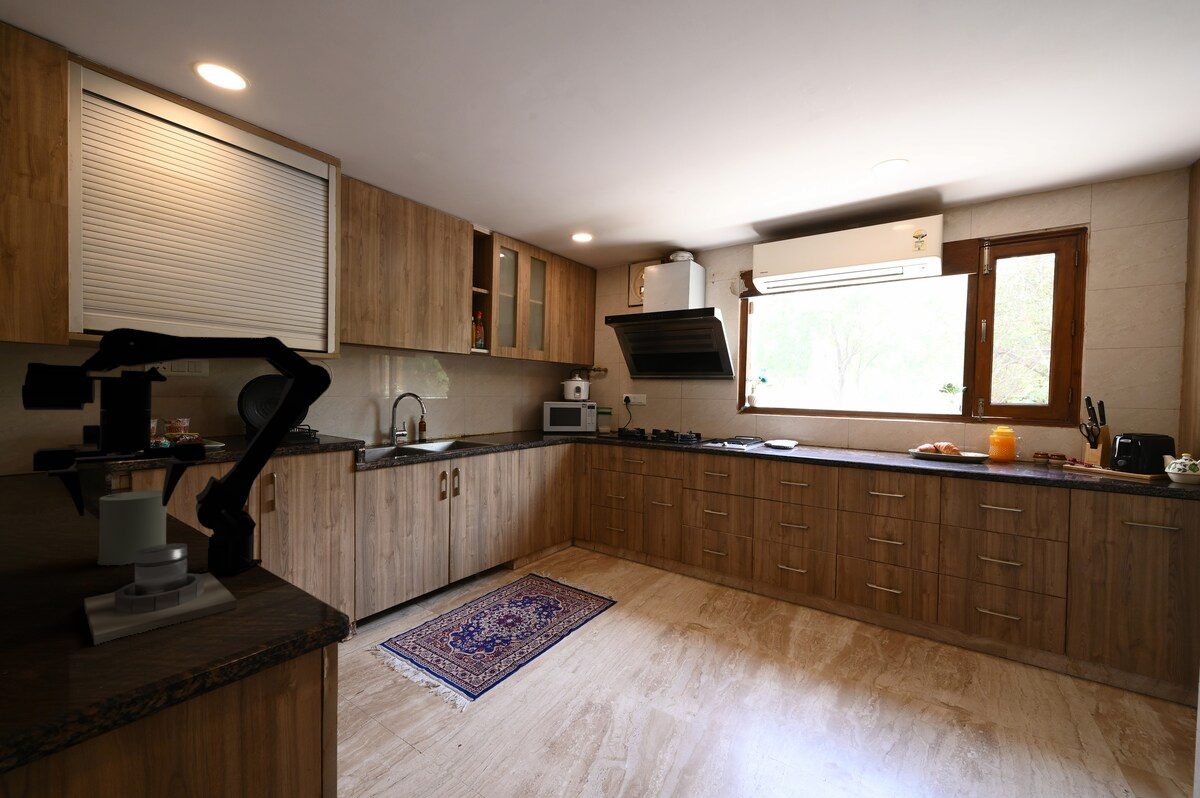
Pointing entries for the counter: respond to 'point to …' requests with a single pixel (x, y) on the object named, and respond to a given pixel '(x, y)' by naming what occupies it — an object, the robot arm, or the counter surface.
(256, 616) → the counter surface
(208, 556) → the robot arm
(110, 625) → the ring plate
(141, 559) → the piston
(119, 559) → the can
